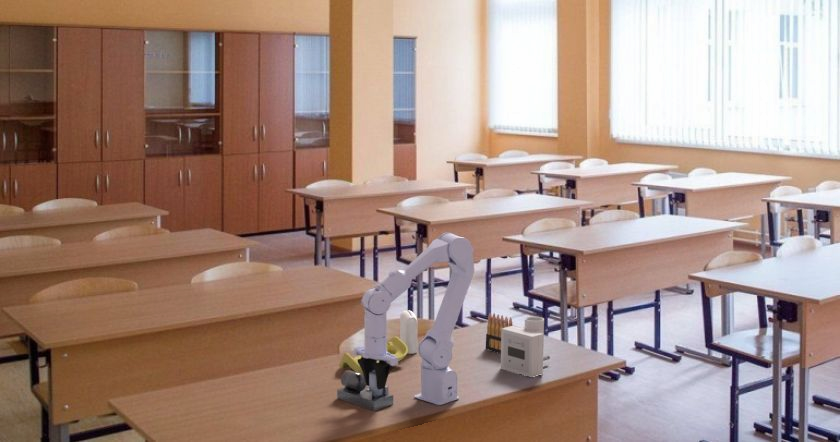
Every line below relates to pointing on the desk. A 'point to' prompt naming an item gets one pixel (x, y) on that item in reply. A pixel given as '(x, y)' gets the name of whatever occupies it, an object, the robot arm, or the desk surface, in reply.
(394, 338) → the plastic component
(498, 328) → the ammunition clip
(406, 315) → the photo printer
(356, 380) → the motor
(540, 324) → the thermostat
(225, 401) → the desk surface
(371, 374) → the grey capped cylinder
